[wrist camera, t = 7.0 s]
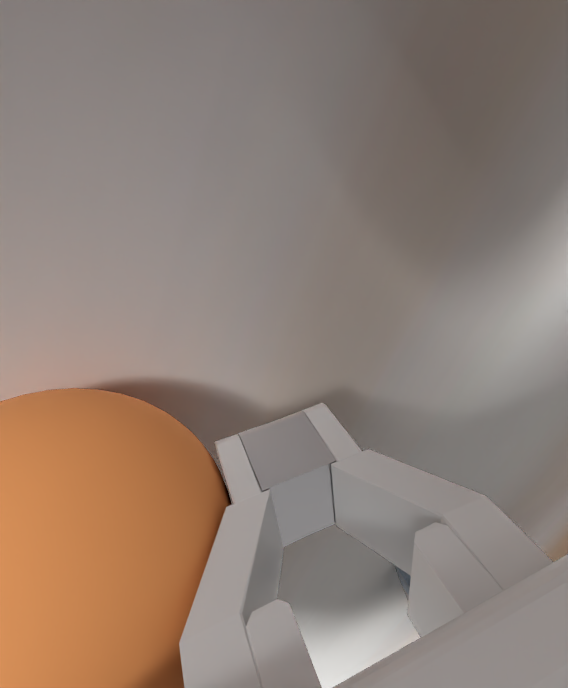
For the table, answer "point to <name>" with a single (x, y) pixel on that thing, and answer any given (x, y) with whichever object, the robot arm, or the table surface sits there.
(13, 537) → the ball
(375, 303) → the table surface
